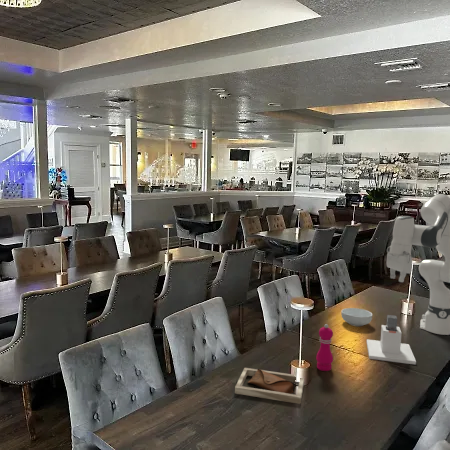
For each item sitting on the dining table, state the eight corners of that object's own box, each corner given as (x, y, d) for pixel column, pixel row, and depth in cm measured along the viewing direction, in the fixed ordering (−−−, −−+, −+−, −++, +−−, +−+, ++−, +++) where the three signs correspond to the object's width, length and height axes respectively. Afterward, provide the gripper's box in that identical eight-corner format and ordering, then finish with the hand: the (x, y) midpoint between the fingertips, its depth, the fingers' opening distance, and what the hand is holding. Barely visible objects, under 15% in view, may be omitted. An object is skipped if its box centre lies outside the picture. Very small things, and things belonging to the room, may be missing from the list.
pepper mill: (332, 372, 178) (335, 327, 175) (315, 370, 179) (318, 326, 177) (332, 365, 185) (334, 322, 182) (315, 363, 186) (317, 320, 184)
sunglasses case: (245, 382, 166) (251, 365, 168) (254, 384, 171) (259, 368, 173) (284, 398, 155) (289, 380, 157) (292, 400, 160) (297, 383, 162)
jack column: (384, 346, 201) (386, 314, 199) (394, 347, 200) (396, 315, 198) (385, 349, 197) (387, 317, 195) (395, 351, 196) (397, 318, 194)
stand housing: (366, 342, 211) (367, 318, 210) (408, 347, 206) (410, 323, 204) (369, 358, 192) (370, 333, 190) (415, 364, 187) (417, 338, 185)
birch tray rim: (244, 373, 175) (244, 367, 175) (304, 382, 169) (304, 376, 169) (234, 393, 159) (235, 387, 159) (300, 403, 153) (300, 397, 152)
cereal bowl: (374, 322, 240) (375, 311, 239) (367, 331, 226) (368, 319, 225) (345, 316, 249) (346, 305, 248) (337, 325, 235) (337, 313, 234)
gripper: (417, 253, 180) (413, 284, 181) (398, 249, 201) (394, 277, 201) (403, 252, 181) (399, 283, 181) (385, 247, 201) (381, 275, 201)
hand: (396, 280), depth 191 cm, fingers open, 8 cm apart
